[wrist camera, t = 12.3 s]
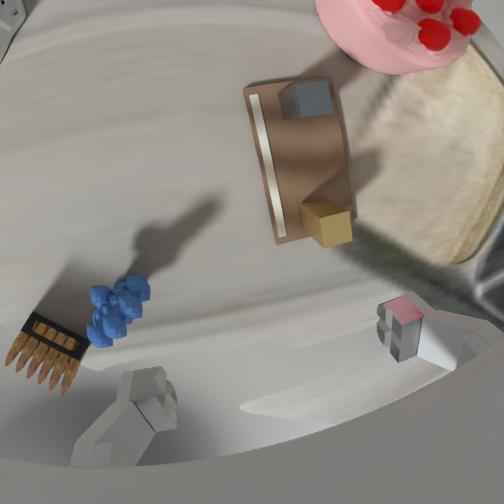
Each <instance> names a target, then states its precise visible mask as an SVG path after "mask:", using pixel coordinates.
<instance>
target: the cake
mask: <svg viewBox="0 0 504 504" xmlns="http://www.w3.org/2000/svg"><path fill="white" fill-rule="evenodd" d="M472 1H473V0H315V5H316V9H317V13H318V15H319V18H320V20H321V22H322V24H323V26H324V28H325V29H326V31H327V33H328V34H329V36H330V37H331V38H332V39H333V41H334V42H335V43H336V44H337V45H338V46H339V47H340V48H341V49H342V50H343V51H344V52H345V53H346V54H347V55H349V56H350V57H351V58H353V59H354V60H355V61H357V62H358V63H360V64H362V65H364V66H366V67H367V68H369V69H372V70H374V71H377V72H380V73H385V74H392V75H398V74H406V73H412V72H418V71H424V70H430V69H437V68H441V67H446V66H448V65H450V64H452V63H454V62H455V61H456V60H457V59H458V58H459V57H460V56H462V55H464V54H465V52H466V49H467V46H468V43H469V41H470V39H471V36H472V35H473V34H475V33H476V31H477V30H478V29H479V27H480V25H481V20H480V18H479V16H478V15H477V14H476V13H474V12H473V11H470V9H471V4H472Z"/></svg>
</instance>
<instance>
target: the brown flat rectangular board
mask: <svg viewBox="0 0 504 504" xmlns="http://www.w3.org/2000/svg"><path fill="white" fill-rule="evenodd" d="M316 81H327V82H328V86H329V91H330V96H331V101H332V106H333V111H334V113H331V114H323V115H316V116H309V117H303V118H296V119H289V120H283V117H282V112H281V108H280V103H279V98H278V94H277V93H278V92H280V91H282V90H284V89H286V88H288V87H290V86H292V85H294V84H298V83H307V82H316ZM243 92H244V97H245V101H246V105H247V110H248V114H249V119H250V123H251V128H252V132H253V137H254V141H255V146H256V150H257V155H258V160H259V164H260V169H261V174H262V179H263V183H264V188H265V193H266V198H267V203H268V207H269V212H270V217H271V222H272V227H273V232H274V237H275V242H276V244H277V245H279V244H283V243H287V242H291V241H295V240H298V239H302V238H306V237H310V235H309V234H308V233H307V232H306V231H305V230H304V225H303V219H302V212H301V207H300V204H301V203H306V202H310V201H314V200H318V199H323V198H327V199H329V200H331V201H333V202H334V203H336V204H338V205H340V206H342V207H343V208H345V209H347V210H349V211H350V221H351V225H354V221H353V212H352V203H351V194H350V186H349V178H348V171H347V164H346V157H345V151H344V144H343V138H342V132H341V127H340V121H339V116H338V110H337V105H336V100H335V95H334V91H333V86H332V81H331V77H322V78H312V79H302V80H294V81H286V82H279V83H272V84H266V85H259V86H254V87H248V88H244V89H243Z"/></svg>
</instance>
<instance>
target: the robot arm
mask: <svg viewBox="0 0 504 504" xmlns="http://www.w3.org/2000/svg"><path fill="white" fill-rule="evenodd" d="M17 12H18V13H17ZM16 13H17V14H16ZM25 18H26V13H25V9H24V5H23V1H22V0H0V61H1V60H2V58H3V56H4V54H5V52H6V50H7V48H8V45H9V43H10V41H11V39H12V37H13V35H14V34H15V32H16V31H17V30H18V29H19V27H20V26H21V25H22V23H23V22H24V20H25ZM377 314H378V316H379V317H380V319H379V321H378V322H377V332H378V336H379V338H380V340H381V342H382V343H383V345H385V346H387V347H390V353H391V355H392V356H393V357H394V358H395V359H396V361H397V362H398V363H400V362H402V361H404V360H407V359H409V358H411V357H414V356H416V355H417V356H418V357H420V358H422V359H425V360H427V361H429V362H432V363H434V364H436V365H438V366H441V367H443V368H445V369H448V370H450V371H452V372H450V373H448V374H447V375H445V376H443V377H441V378H439V379H438V380H436V381H434V382H432V383H430V384H428V385H427V386H425V387H423V388H421V389H419V390H417V391H415V392H413V393H411V394H409V395H407V396H405V397H403V398H401V399H399V400H396V401H394V402H392V403H390V404H388V405H385V406H383V407H381V408H379V409H376V410H374V411H372V412H369V413H367V414H364V415H362V416H360V417H357V418H354V419H352V420H349V421H347V422H344V423H341V424H339V425H336V426H333V427H330V428H327V429H325V430H322V431H319V432H315V433H313V434H309V435H306V436H303V437H300V438H297V439H293V440H290V441H286V442H282V443H279V444H275V445H271V446H267V447H263V448H259V449H255V450H250V451H246V452H241V453H236V454H231V455H226V456H221V457H215V458H209V459H203V460H196V461H189V462H182V463H173V464H163V465H151V466H135V465H136V464H137V462H138V461H139V459H140V457H141V456H142V454H143V453H144V451H145V449H146V448H147V446H148V445H149V443H150V441H151V440H152V438H153V436H154V435H155V432H158V431H164V430H170V429H175V428H176V427H177V414H176V413H175V411H174V408H175V407H176V406H177V397H176V392H175V390H174V387H173V385H172V383H171V382H170V381H168V380H166V372H165V371H164V369H163V367H161V366H158V367H152V368H146V369H140V370H134V371H128V372H124V373H123V374H122V377H121V381H120V385H119V390H118V394H117V399H116V403H113V404H111V405H110V406H109V408H108V409H107V410H106V411H105V412H104V413H103V414H102V415H101V416H100V417H99V418H98V419H97V420H96V421H95V422H94V423H93V424H92V426H90V427H89V429H88V430H87V431H86V432H85V433H84V434H83V435H82V436H81V437H80V438H79V439H78V440H77V441H76V442H75V446H74V450H73V455H72V459H71V463H70V466H56V465H45V464H35V463H28V462H21V461H15V460H9V459H4V458H0V504H504V333H503V332H501V331H500V330H499V329H498V328H497V327H495V326H494V325H493V324H492V323H490V322H489V321H486V320H482V319H477V318H473V317H468V316H464V315H459V314H455V313H450V312H446V311H442V310H437V311H435V310H434V309H433V308H432V307H430V306H429V305H428V304H427V303H426V302H425V301H423V300H422V299H421V298H420V297H419V296H417V295H416V294H415V293H414V292H409V293H406V294H404V295H402V296H400V297H398V298H395V299H392V300H390V301H387V302H385V303H382V304H379V305H378V308H377Z"/></svg>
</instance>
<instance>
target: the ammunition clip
mask: <svg viewBox="0 0 504 504" xmlns="http://www.w3.org/2000/svg"><path fill="white" fill-rule="evenodd" d="M45 333H46V334H45ZM43 336H44V337H43ZM54 339H55V340H54ZM40 341H41V342H40ZM53 341H54V342H53ZM89 342H90V341H89V340H88V339H86V338H83V337H81V336H79V335H77V334H75V333H73V332H71V331H69V330H67V329H65V328H63V327H61V326H59V325H57V324H55V323H53V322H52V321H50V320H48V319H46V318H44V317H42V316H40V315H39V314H37V313H35V312H32V313H31V315H30V316H29V318H28V319H27V321H26V323H25V324H24V326H23V328H22V329H21V332H20V334H19V335H18V337H17V338H16V340H15V341H14V343H13V346H12V348H11V350H10V351H9V353H8V355H7V357H6V361H5V366H8V365H9V364H10V363H12V362H13V360H14V359H15V357H16V356H17V355H18V353H19V352H20V351H21V350H22V349H23V352H22V354H21V356H20V358H19V360H18V362H17V365H16V372H19V371H20V370H21V369H22V368H23V367H24V366H25V364H26V362H27V361H28V360H29V358H30V357H31V356H32V355H33V353H34V352H35V353H34V355H33V359H32V361H31V363H30V365H29V368H28V371H27V378H30V377H31V376H32V375H33V374H34V373H35V371H36V370H37V368H38V366H39V365H40V364H41V362H42V361H43V359H44V358H45V359H44V361H43V365H42V368H41V370H40V373H39V376H38V384H41V383H42V382H43V381H44V380H45V378H46V377H47V375H48V373H49V371H50V370H51V368H52V367H53V366H54V370H53V373H52V376H51V378H50V382H49V390H52V389H53V388H54V387H55V386H56V384H57V382H58V381H59V378H60V377H61V375H62V373H63V372H64V370H65V368H66V366H67V368H66V370H65V375H64V378H63V381H62V384H61V391H60V392H61V396H63V395H64V394H65V393H66V392H67V390H68V389H69V387H70V384H71V382H72V380H73V379H74V377H75V375H76V373H77V370H78V367H79V365H80V363H81V361H82V359H83V356H84V354H85V352H86V350H87V348H88V345H89ZM25 344H26V345H25ZM24 346H25V347H24ZM23 347H24V348H23ZM36 348H37V349H36ZM74 348H75V349H74ZM35 350H36V351H35ZM73 350H74V351H73ZM60 352H61V353H60ZM59 353H60V354H59ZM46 354H47V355H46ZM45 356H46V357H45ZM70 357H71V358H70ZM57 358H58V359H57ZM56 360H57V361H56ZM55 361H56V363H55ZM54 364H55V365H54ZM67 364H68V365H67Z"/></svg>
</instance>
